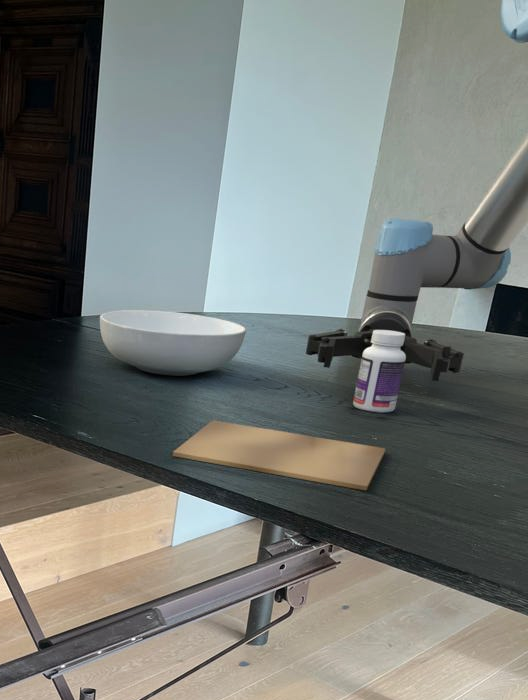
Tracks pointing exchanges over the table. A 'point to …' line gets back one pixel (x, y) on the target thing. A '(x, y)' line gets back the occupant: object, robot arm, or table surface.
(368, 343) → the robot arm
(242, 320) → the table surface
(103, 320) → the serving bowl
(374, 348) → the pill bottle
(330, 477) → the cork mat
